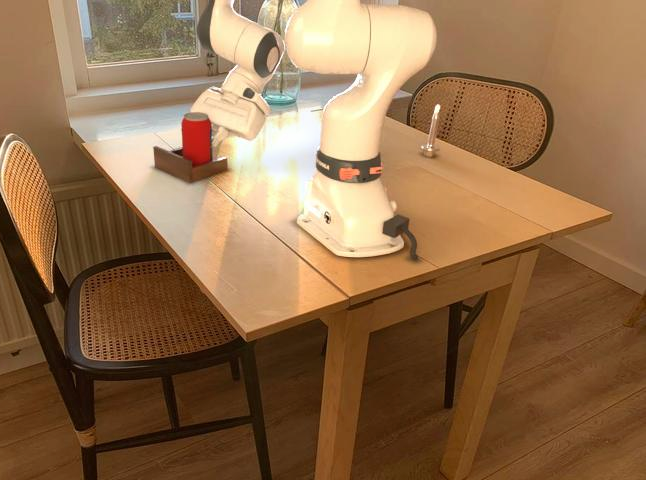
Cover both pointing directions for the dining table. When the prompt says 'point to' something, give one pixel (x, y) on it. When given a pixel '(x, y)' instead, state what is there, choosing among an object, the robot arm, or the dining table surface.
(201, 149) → the beverage can
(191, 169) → the bay
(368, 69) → the robot arm
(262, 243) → the dining table surface
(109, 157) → the dining table surface
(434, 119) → the screw
